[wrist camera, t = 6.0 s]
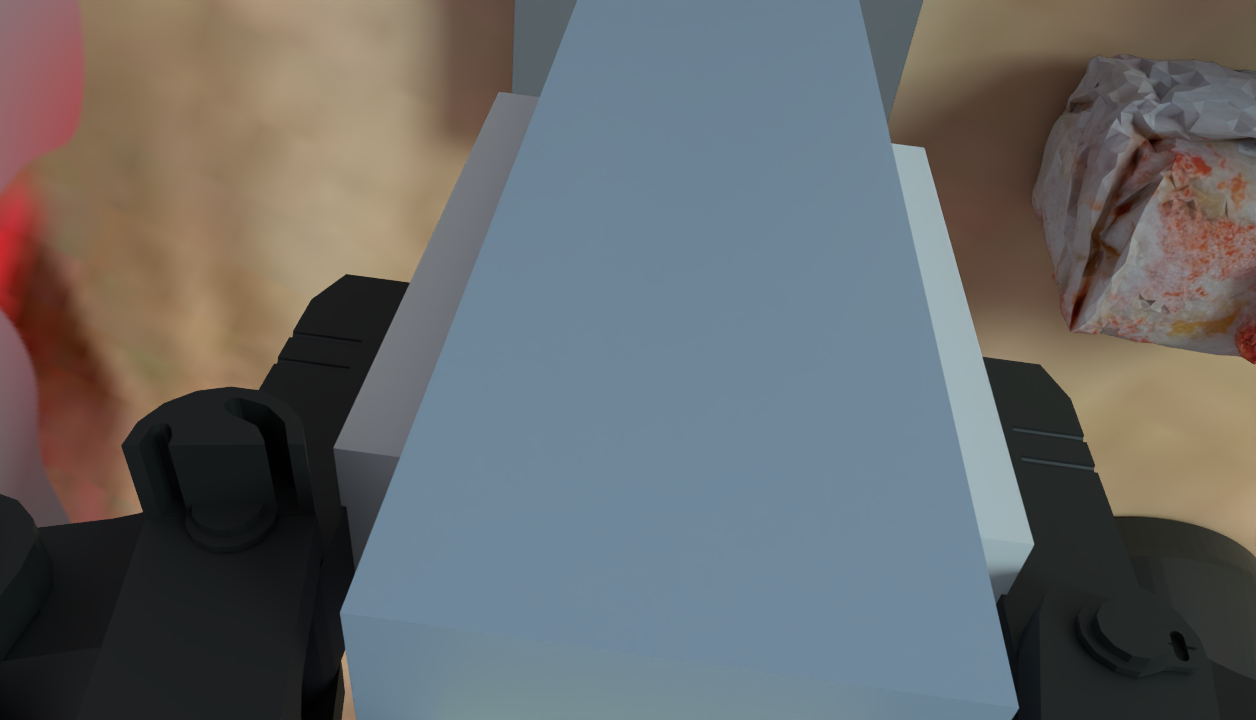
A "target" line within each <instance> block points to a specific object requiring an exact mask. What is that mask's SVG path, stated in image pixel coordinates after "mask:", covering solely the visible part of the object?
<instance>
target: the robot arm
mask: <svg viewBox="0 0 1256 720" xmlns="http://www.w3.org/2000/svg"><path fill="white" fill-rule="evenodd" d="M539 98H540V97H535V96H527V95H520V94H512V93H504V92H498V94H497V96H496V99H495V101H494V103H493V105H492V107H491V109H490V112H489V114H488V116H487V118H486V120H485V122H484V124H483V127H482V129H481V131H480V133H479V135H478V137H477V140H476V142H475V144H474V146H473V148H472V150H471V153H470V155H469V157H468V159H467V161H466V163H465V165H464V168H463V170H462V172H461V174H460V176H459V178H458V181H457V183H456V185H455V187H454V189H453V191H452V193H451V196H450V198H449V200H448V202H447V204H446V206H445V209H444V211H443V213H442V215H441V217H440V219H439V221H438V224H437V226H436V228H435V230H434V232H433V234H432V237H431V239H430V241H429V243H428V245H427V247H426V249H425V252H424V254H423V256H422V258H421V260H420V262H419V265H418V267H417V269H416V271H415V273H414V275H413V277H412V280H411V282H410V283H408V282H401V281H393V280H386V279H378V278H371V277H363V276H356V275H348V274H346V275H345V276H343V277H342V278H340V279H339V280H338V281H336V282H335V283H334V284H332V285H331V286H329V287H328V288H327V289H325V290H324V291H322V292H321V293H320V294H318V295H317V296H316V297H314V298H313V299H312V300H311V301H310V303H309V305H308V306H307V308H306V310H305V312H304V313H303V315H302V317H301V318H300V320H299V322H298V324H297V325H296V327H295V329H294V330H293V337H292V338H291V337H289V339H288V341H287V342H286V344H285V346H284V348H283V349H282V351H281V353H280V354H279V356H278V362H277V364H274V365H273V366H272V368H271V370H270V372H269V373H268V375H267V377H266V378H265V380H264V382H263V384H262V385H261V387H260V389H259V390H253V389H245V388H237V387H225V388H216V389H208V390H200V391H195V392H193V393H190V394H187V395H185V396H182V397H179V398H176V399H174V400H171V401H168V402H166V403H164V404H162V405H161V406H159V407H158V408H157V409H155V410H154V411H152V412H151V413H150V414H148V415H147V416H145V417H144V418H143V419H141V420H140V421H138V422H137V424H136V425H135V426H134V428H133V429H132V431H131V432H130V434H129V435H128V437H127V438H126V440H125V441H124V442H123V444H122V445H121V446H122V449H123V452H124V455H125V458H126V461H127V464H128V467H129V470H130V473H131V477H132V480H133V483H134V486H135V489H136V492H137V495H138V498H139V501H140V504H141V507H142V510H143V512H142V513H139V514H134V515H129V516H124V517H119V518H114V519H107V520H98V521H90V522H82V523H73V524H65V525H56V526H48V527H40V528H37V526H36V524H35V522H34V520H33V518H32V517H31V515H30V514H29V513H28V512H27V511H26V510H25V508H24V507H23V506H22V505H21V504H20V503H19V501H18V500H15V499H12V498H10V497H7V496H4V495H1V494H0V720H341V719H342V711H343V703H344V695H345V689H344V679H343V670H342V664H341V659H342V657H343V654H344V651H345V642H344V636H343V629H342V623H341V616H340V611H341V609H342V606H343V603H344V601H345V598H346V596H347V593H348V591H349V588H350V585H351V583H352V580H353V578H354V575H355V572H356V570H357V567H358V565H359V562H360V560H361V557H362V554H363V552H364V549H365V547H366V544H367V542H368V539H369V536H370V534H371V531H372V529H373V526H374V523H375V521H376V518H377V516H378V513H379V511H380V508H381V505H382V503H383V500H384V498H385V495H386V492H387V490H388V487H389V485H390V482H391V480H392V477H393V474H394V472H395V469H396V467H397V464H398V462H399V459H400V456H401V454H402V451H403V449H404V446H405V443H406V441H407V438H408V436H409V433H410V431H411V428H412V425H413V423H414V420H415V418H416V415H417V413H418V410H419V407H420V405H421V402H422V400H423V397H424V394H425V392H426V389H427V387H428V384H429V382H430V379H431V376H432V374H433V371H434V369H435V366H436V364H437V361H438V358H439V356H440V353H441V351H442V348H443V345H444V343H445V340H446V338H447V335H448V333H449V330H450V327H451V325H452V322H453V320H454V317H455V314H456V312H457V309H458V307H459V304H460V302H461V299H462V296H463V294H464V291H465V289H466V286H467V284H468V281H469V278H470V276H471V273H472V271H473V268H474V265H475V263H476V260H477V258H478V255H479V253H480V250H481V247H482V245H483V242H484V240H485V237H486V235H487V232H488V229H489V227H490V224H491V222H492V219H493V216H494V214H495V211H496V209H497V206H498V204H499V201H500V198H501V196H502V193H503V191H504V188H505V186H506V183H507V180H508V178H509V175H510V173H511V170H512V167H513V165H514V162H515V160H516V157H517V155H518V152H519V149H520V147H521V144H522V142H523V139H524V136H525V134H526V131H527V129H528V126H529V124H530V121H531V118H532V116H533V113H534V111H535V108H536V106H537V103H538V100H539ZM892 148H893V152H894V157H895V161H896V166H897V170H898V174H899V179H900V183H901V188H902V192H903V196H904V201H905V205H906V210H907V214H908V219H909V223H910V227H911V232H912V236H913V241H914V245H915V250H916V254H917V258H918V263H919V267H920V272H921V276H922V281H923V285H924V289H925V294H926V298H927V303H928V307H929V312H930V316H931V320H932V325H933V329H934V334H935V338H936V342H937V347H938V351H939V356H940V360H941V365H942V369H943V373H944V378H945V382H946V387H947V391H948V396H949V400H950V404H951V409H952V413H953V418H954V422H955V427H956V431H957V435H958V440H959V444H960V449H961V453H962V457H963V462H964V466H965V471H966V475H967V480H968V484H969V488H970V493H971V497H972V502H973V506H974V511H975V515H976V519H977V524H978V528H979V533H980V537H981V542H982V546H983V550H984V555H985V559H986V564H987V568H988V572H989V577H990V581H991V586H992V590H993V595H994V599H995V603H996V608H997V612H998V617H999V621H1000V626H1001V630H1002V634H1003V639H1004V643H1005V648H1006V652H1007V657H1008V661H1009V665H1010V670H1011V674H1012V679H1013V683H1014V687H1015V692H1016V696H1017V701H1018V705H1019V709H1018V711H1017V712H1016V714H1015V715H1014V717H1013V718H1012V720H1256V557H1255V556H1254V555H1253V554H1252V553H1251V552H1249V551H1248V550H1247V549H1246V548H1244V547H1243V546H1241V545H1240V544H1238V543H1237V542H1235V541H1234V540H1232V539H1230V538H1228V537H1226V536H1224V535H1222V534H1220V533H1217V532H1215V531H1212V530H1209V529H1207V528H1203V527H1200V526H1197V525H1193V524H1188V523H1184V522H1179V521H1173V520H1165V519H1155V518H1114V516H1113V513H1112V510H1111V508H1110V505H1109V502H1108V499H1107V497H1106V494H1105V491H1104V489H1103V486H1102V483H1101V480H1100V478H1099V475H1098V473H1095V472H1094V467H1095V464H1094V461H1093V459H1092V456H1091V453H1090V450H1089V448H1088V445H1087V442H1083V437H1084V434H1083V431H1082V429H1081V426H1080V423H1079V420H1078V418H1077V415H1076V412H1075V409H1074V407H1073V404H1072V401H1071V399H1070V398H1069V396H1068V395H1067V394H1066V393H1065V392H1064V391H1063V390H1062V389H1061V388H1060V386H1059V385H1058V384H1057V383H1056V382H1055V381H1054V380H1053V379H1052V377H1051V376H1050V375H1049V374H1048V373H1047V372H1046V371H1045V370H1044V369H1043V367H1042V366H1041V365H1039V364H1032V363H1024V362H1017V361H1009V360H1002V359H994V358H987V357H982V354H981V350H980V347H979V343H978V340H977V336H976V332H975V329H974V325H973V322H972V318H971V314H970V311H969V307H968V304H967V300H966V296H965V293H964V289H963V286H962V282H961V278H960V275H959V271H958V267H957V264H956V260H955V257H954V253H953V249H952V246H951V242H950V239H949V235H948V231H947V228H946V224H945V221H944V217H943V213H942V210H941V206H940V203H939V199H938V195H937V192H936V188H935V185H934V181H933V177H932V174H931V170H930V167H929V163H928V159H927V156H926V152H925V149H924V148H923V147H915V146H907V145H900V144H892Z"/></svg>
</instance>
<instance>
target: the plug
mask: <svg viewBox="0 0 1256 720" xmlns="http://www.w3.org/2000/svg"><path fill="white" fill-rule="evenodd" d="M340 616H341V623H342V629H343V636H344V642H345V649H346V655H347V662H348V668H349V675H350V681H351V688H352V694H353V701H354V707H355V714H356V720H1012V718H1013V717H1014V715H1015V714H1016V712H1017V711H1018V709H1019V705H1018V701H1017V696H1016V692H1015V687H1014V683H1013V679H1012V674H1011V670H1010V665H1009V661H1008V657H1007V652H1006V648H1005V643H1004V639H1003V634H1002V630H1001V626H1000V621H999V617H998V612H997V608H996V603H995V599H994V595H993V590H992V586H991V581H990V577H989V572H988V568H987V564H986V559H985V555H984V550H983V546H982V542H981V537H980V533H979V528H978V524H977V519H976V515H975V511H974V506H973V502H972V497H971V493H970V488H969V484H968V480H967V475H966V471H965V466H964V462H963V457H962V453H961V449H960V444H959V440H958V435H957V431H956V427H955V422H954V418H953V413H952V409H951V404H950V400H949V396H948V391H947V387H946V382H945V378H944V373H943V369H942V365H941V360H940V356H939V351H938V347H937V342H936V338H935V334H934V329H933V325H932V320H931V316H930V312H929V307H928V303H927V298H926V294H925V289H924V285H923V281H922V276H921V272H920V267H919V263H918V258H917V254H916V250H915V245H914V241H913V236H912V232H911V227H910V223H909V219H908V214H907V210H906V205H905V201H904V196H903V192H902V188H901V183H900V179H899V174H898V170H897V166H896V161H895V157H894V152H893V148H892V143H891V139H890V135H889V130H888V126H887V121H886V117H885V112H884V108H883V104H882V99H881V95H880V90H879V86H878V81H877V77H876V73H875V68H874V64H873V59H872V55H871V51H870V46H869V42H868V37H867V33H866V28H865V24H864V20H863V15H862V11H861V6H860V2H859V0H577V2H576V5H575V7H574V10H573V13H572V15H571V18H570V20H569V23H568V26H567V28H566V31H565V33H564V36H563V38H562V41H561V44H560V46H559V49H558V51H557V54H556V57H555V59H554V62H553V64H552V67H551V69H550V72H549V75H548V77H547V80H546V82H545V85H544V87H543V90H542V93H541V95H540V98H539V100H538V103H537V106H536V108H535V111H534V113H533V116H532V118H531V121H530V124H529V126H528V129H527V131H526V134H525V136H524V139H523V142H522V144H521V147H520V149H519V152H518V155H517V157H516V160H515V162H514V165H513V167H512V170H511V173H510V175H509V178H508V180H507V183H506V186H505V188H504V191H503V193H502V196H501V198H500V201H499V204H498V206H497V209H496V211H495V214H494V216H493V219H492V222H491V224H490V227H489V229H488V232H487V235H486V237H485V240H484V242H483V245H482V247H481V250H480V253H479V255H478V258H477V260H476V263H475V265H474V268H473V271H472V273H471V276H470V278H469V281H468V284H467V286H466V289H465V291H464V294H463V296H462V299H461V302H460V304H459V307H458V309H457V312H456V314H455V317H454V320H453V322H452V325H451V327H450V330H449V333H448V335H447V338H446V340H445V343H444V345H443V348H442V351H441V353H440V356H439V358H438V361H437V364H436V366H435V369H434V371H433V374H432V376H431V379H430V382H429V384H428V387H427V389H426V392H425V394H424V397H423V400H422V402H421V405H420V407H419V410H418V413H417V415H416V418H415V420H414V423H413V425H412V428H411V431H410V433H409V436H408V438H407V441H406V443H405V446H404V449H403V451H402V454H401V456H400V459H399V462H398V464H397V467H396V469H395V472H394V474H393V477H392V480H391V482H390V485H389V487H388V490H387V492H386V495H385V498H384V500H383V503H382V505H381V508H380V511H379V513H378V516H377V518H376V521H375V523H374V526H373V529H372V531H371V534H370V536H369V539H368V542H367V544H366V547H365V549H364V552H363V554H362V557H361V560H360V562H359V565H358V567H357V570H356V572H355V575H354V578H353V580H352V583H351V585H350V588H349V591H348V593H347V596H346V598H345V601H344V603H343V606H342V609H341V611H340Z"/></svg>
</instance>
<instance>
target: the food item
mask: <svg viewBox="0 0 1256 720" xmlns="http://www.w3.org/2000/svg"><path fill="white" fill-rule="evenodd" d="M1032 206H1033V209H1034V211H1035V213H1036V215H1037V217H1038V219H1039V220H1040V222H1041V225H1042V228H1043V234H1044V238H1045V242H1046V245H1047V248H1048V252H1049V255H1050V257H1051V259H1052V261H1053V265H1054V271H1053V274H1052V278H1053V279H1054V281H1055V282H1056V284H1059V286H1060V288H1059V292H1060V308H1061V312H1062V315H1063V317H1064V319H1065V321H1066V322H1067V325H1068V328H1069V331H1070V332H1074V333H1087V334H1098V333H1104V334H1107V335H1111V336H1115V337H1119V338H1122V339H1126V340H1131V341H1135V342H1144V343H1154V344H1159V345H1163V346H1167V347H1172V348H1178V349H1184V350H1191V351H1197V352H1203V353H1209V354H1215V355H1229V356H1239V357H1243V358H1245V359H1246V360H1248V361H1249V362H1251V363H1253V364H1256V71H1249V70H1242V71H1241V72H1237V71H1234V70H1231V69H1229V68H1226V67H1224V66H1221V65H1218V64H1216V63H1215V62H1213V61H1212V62H1203V61H1198V60H1174V61H1164V60H1153V59H1142V58H1138V57H1135V56H1132V55H1117V56H1115V57H1113V58H1108V57H1101V56H1100V55H1098V56H1095V57H1093V58H1091V59H1089V62H1088V67H1087V72H1086V74H1085V75H1084V77H1083V79H1082V80H1081V82H1080V84H1079V86H1078V87H1077V89H1076V90H1075V91H1074V92H1073V93H1072V94H1071V96H1070V97H1069V100H1068V103H1067V107H1066V110H1065V111H1064V112H1063V114H1062V115H1061V116H1060V117H1059V118H1058V120H1057V121H1056V122H1055V124H1054V125H1053V127H1052V130H1051V132H1050V135H1049V137H1048V139H1047V142H1046V144H1045V149H1044V155H1043V160H1042V164H1041V168H1040V171H1039V175H1038V178H1037V181H1036V183H1035V185H1034V187H1033V190H1032Z"/></svg>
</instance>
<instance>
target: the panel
mask: <svg viewBox="0 0 1256 720" xmlns="http://www.w3.org/2000/svg"><path fill="white" fill-rule="evenodd" d="M576 2H577V0H515V9H514V41H513V73H512V94H520V95H527V96H535V97H540V95H541V93H542V90H543V87H544V85H545V82H546V80H547V77H548V75H549V72H550V69H551V67H552V64H553V62H554V59H555V57H556V54H557V51H558V49H559V46H560V44H561V41H562V38H563V36H564V33H565V31H566V28H567V26H568V23H569V20H570V18H571V15H572V13H573V10H574V7H575V5H576ZM859 2H860V6H861V11H862V15H863V20H864V24H865V28H866V33H867V37H868V42H869V46H870V51H871V55H872V59H873V64H874V68H875V73H876V77H877V81H878V86H879V90H880V95H881V99H882V104H883V108H884V112H885V117H886V121H887V123H888V119H889V116H890V113H891V109H892V106H893V102H894V99H895V95H896V92H897V88H898V85H899V82H900V78H901V75H902V71H903V68H904V64H905V61H906V58H907V54H908V51H909V47H910V44H911V40H912V37H913V33H914V30H915V27H916V23H917V20H918V16H919V13H920V9H921V6H922V3H923V0H859Z"/></svg>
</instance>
